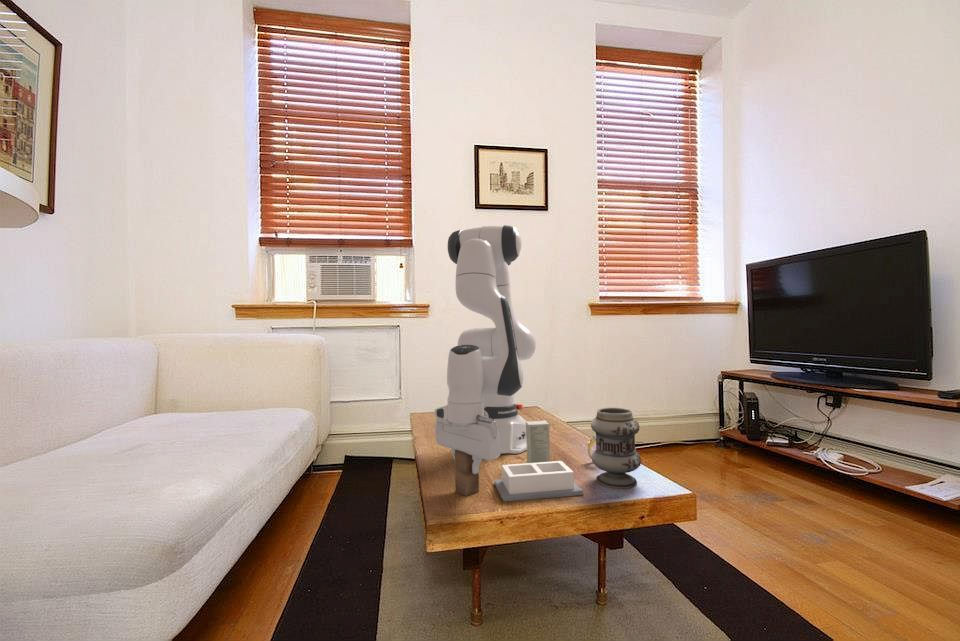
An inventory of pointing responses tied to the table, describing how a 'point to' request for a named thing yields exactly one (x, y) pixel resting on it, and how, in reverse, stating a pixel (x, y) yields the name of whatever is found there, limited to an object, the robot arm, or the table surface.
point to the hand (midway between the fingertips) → (466, 470)
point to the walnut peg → (465, 474)
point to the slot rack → (536, 481)
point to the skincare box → (537, 441)
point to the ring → (590, 444)
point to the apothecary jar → (615, 447)
